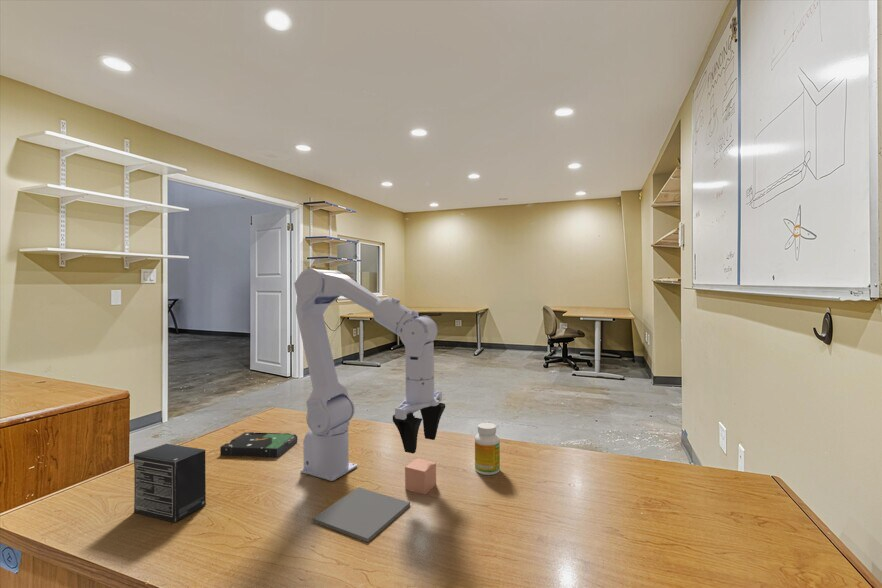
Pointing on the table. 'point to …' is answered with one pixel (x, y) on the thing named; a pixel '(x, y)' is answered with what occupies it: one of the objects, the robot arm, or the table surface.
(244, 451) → the disk drive
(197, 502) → the small box
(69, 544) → the table surface
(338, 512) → the mat
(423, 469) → the cube
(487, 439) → the supplement bottle
